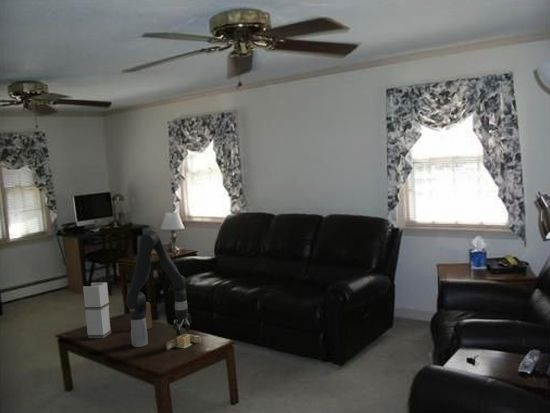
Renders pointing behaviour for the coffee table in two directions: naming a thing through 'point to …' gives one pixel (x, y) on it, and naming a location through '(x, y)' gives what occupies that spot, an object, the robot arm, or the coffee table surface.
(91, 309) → the stacked white cabinet
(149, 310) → the wooden block
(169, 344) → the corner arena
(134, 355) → the coffee table surface
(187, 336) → the ochre cube
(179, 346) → the pad
